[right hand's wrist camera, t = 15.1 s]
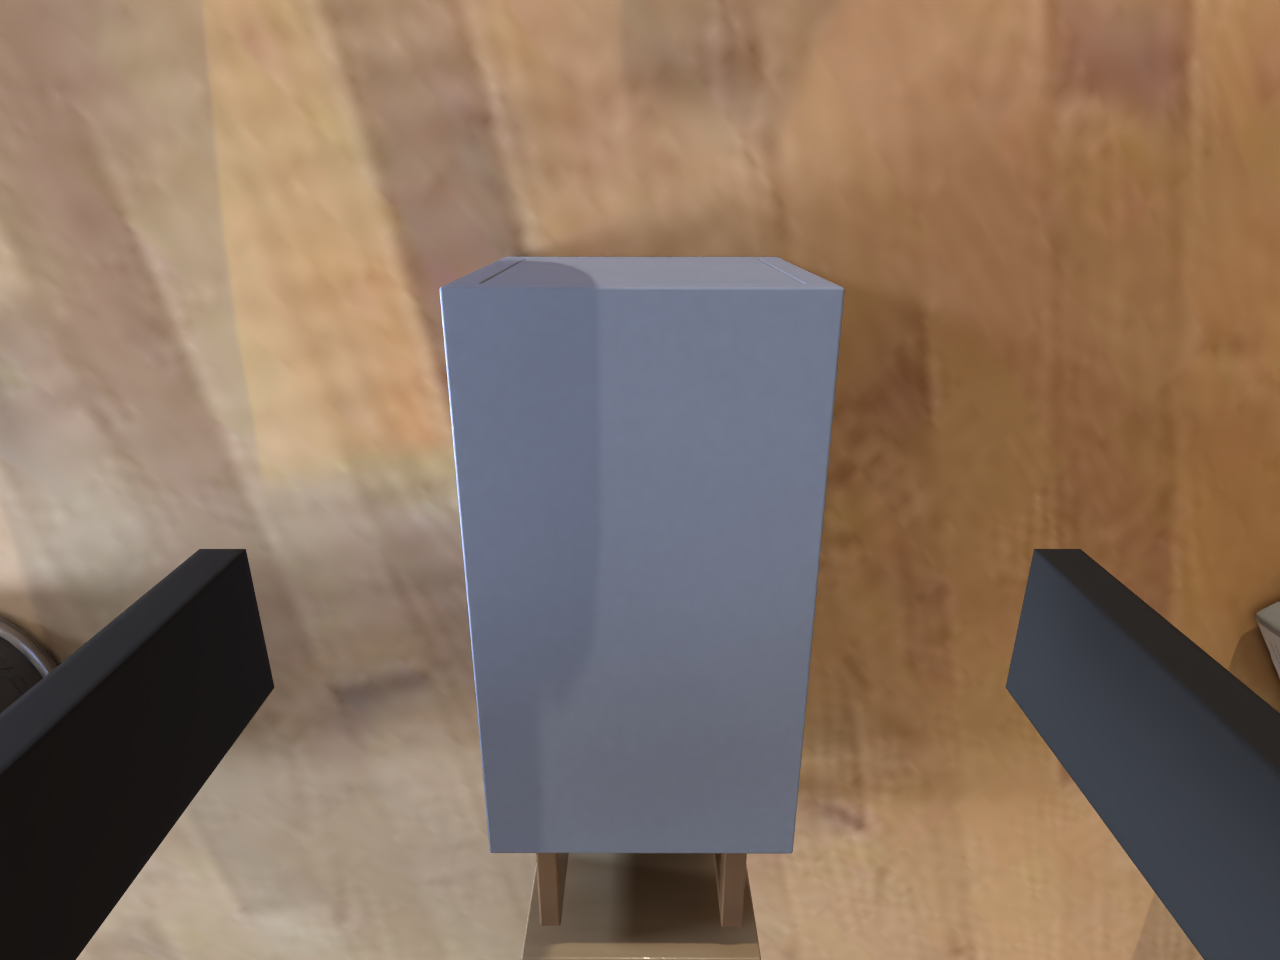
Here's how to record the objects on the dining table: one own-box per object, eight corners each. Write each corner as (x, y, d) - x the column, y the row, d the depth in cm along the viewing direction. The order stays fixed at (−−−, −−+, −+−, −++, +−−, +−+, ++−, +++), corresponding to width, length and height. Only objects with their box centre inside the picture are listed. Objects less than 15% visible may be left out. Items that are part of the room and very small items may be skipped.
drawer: (729, 907, 40) (751, 1083, 32) (552, 907, 40) (530, 1082, 32) (754, 476, 32) (792, 571, 24) (528, 476, 32) (490, 570, 24)
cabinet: (752, 677, 36) (792, 854, 27) (530, 677, 36) (489, 853, 27) (778, 256, 30) (845, 287, 20) (505, 256, 30) (438, 286, 20)
